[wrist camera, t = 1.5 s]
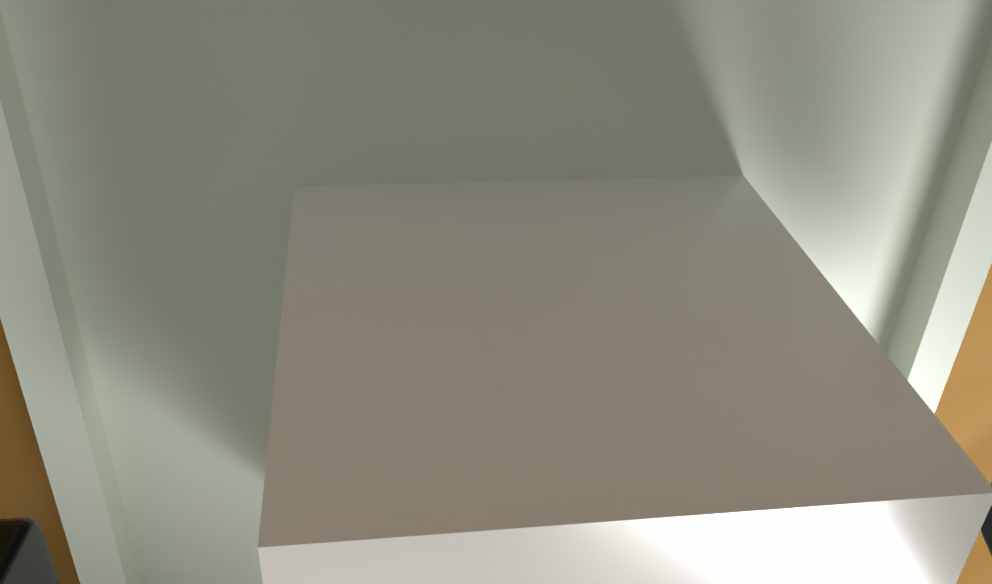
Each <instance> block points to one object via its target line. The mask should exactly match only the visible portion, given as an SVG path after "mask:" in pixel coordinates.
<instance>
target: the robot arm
mask: <svg viewBox="0 0 992 584" xmlns="http://www.w3.org/2000/svg"><path fill="white" fill-rule="evenodd" d="M991 486H992V483H991ZM981 532H982V535H983V537H984V540H985V542H986V544H987V546H988V549H989V551H990V553H991V555H992V505H991V507H990V510H989V512H988V514H987V516H986V518H985V521H984V523H983V525H982V527H981ZM0 584H59V582H58V578H57V575H56V572H55V569H54V566H53V563H52V560H51V556H50V553H49V550H48V547H47V544H46V541H45V538H44V535H43V531H42V529H41V527H40V525H39V524H38V522H37V521H36V520H34V519H32V518H14V519H0Z"/></svg>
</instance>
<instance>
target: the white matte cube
mask: <svg viewBox="0 0 992 584" xmlns="http://www.w3.org/2000/svg"><path fill="white" fill-rule="evenodd" d="M991 505H992V486H991V484H990V483H989V482H988V481H987V479H986V478H985V477H984V476H983V474H982V473H981V472H980V471H979V469H978V468H977V467H976V466H975V464H974V463H973V462H972V461H971V459H970V458H969V457H968V456H967V454H966V453H965V452H964V451H963V449H962V448H961V447H960V446H959V444H958V443H957V442H956V441H955V439H954V438H953V437H952V436H951V434H950V433H949V432H948V431H947V429H946V428H945V427H944V426H943V424H942V423H941V422H940V421H939V419H938V418H937V417H936V416H935V414H934V413H933V412H932V411H931V409H930V408H929V407H928V406H927V404H926V403H925V402H924V401H923V399H922V398H921V397H920V396H919V394H918V393H917V392H916V391H915V389H914V388H913V387H912V386H911V384H910V383H909V382H908V381H907V379H906V378H905V377H904V376H903V374H902V373H901V372H900V371H899V369H898V368H897V367H896V366H895V364H894V363H893V362H892V361H891V359H890V358H889V357H888V356H887V354H886V353H885V352H884V351H883V349H882V348H881V347H880V346H879V344H878V343H877V342H876V341H875V339H874V338H873V337H872V336H871V334H870V333H869V332H868V331H867V329H866V328H865V327H864V326H863V324H862V323H861V322H860V321H859V319H858V318H857V317H856V316H855V314H854V313H853V312H852V310H851V309H850V308H849V307H848V305H847V304H846V303H845V302H844V300H843V299H842V298H841V297H840V295H839V294H838V293H837V292H836V290H835V289H834V288H833V287H832V285H831V284H830V283H829V282H828V280H827V279H826V278H825V277H824V275H823V274H822V273H821V272H820V270H819V269H818V268H817V267H816V265H815V264H814V263H813V262H812V260H811V259H810V258H809V257H808V255H807V254H806V253H805V252H804V250H803V249H802V248H801V247H800V245H799V244H798V243H797V242H796V240H795V239H794V238H793V237H792V235H791V234H790V233H789V232H788V230H787V229H786V228H785V227H784V225H783V224H782V223H781V222H780V220H779V219H778V218H777V217H776V215H775V214H774V213H773V212H772V210H771V209H770V208H769V207H768V205H767V204H766V203H765V202H764V200H763V199H762V198H761V197H760V195H759V194H758V193H757V192H756V190H755V189H754V188H753V187H752V185H751V184H750V183H749V182H748V180H747V179H746V178H745V177H744V175H730V176H689V177H648V178H608V179H567V180H526V181H485V182H444V183H404V184H363V185H322V186H294V191H293V201H292V211H291V221H290V231H289V241H288V251H287V261H286V271H285V281H284V291H283V301H282V311H281V321H280V331H279V341H278V351H277V361H276V371H275V381H274V391H273V401H272V410H271V420H270V430H269V440H268V450H267V460H266V470H265V480H264V490H263V500H262V510H261V520H260V530H259V540H258V553H259V560H260V567H261V574H262V581H263V584H956V582H957V580H958V578H959V575H960V573H961V571H962V569H963V567H964V564H965V562H966V560H967V558H968V556H969V553H970V551H971V549H972V547H973V545H974V542H975V540H976V538H977V536H978V534H979V532H980V529H981V527H982V525H983V523H984V521H985V518H986V516H987V514H988V512H989V510H990V507H991Z"/></svg>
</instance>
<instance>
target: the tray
mask: <svg viewBox="0 0 992 584" xmlns="http://www.w3.org/2000/svg"><path fill="white" fill-rule="evenodd" d="M730 175H744V177H745V178H746V179H747V180H748V182H749V183H750V184H751V185H752V187H753V188H754V189H755V190H756V192H757V193H758V194H759V195H760V197H761V198H762V199H763V200H764V202H765V203H766V204H767V205H768V207H769V208H770V209H771V210H772V212H773V213H774V214H775V215H776V217H777V218H778V219H779V220H780V222H781V223H782V224H783V225H784V227H785V228H786V229H787V230H788V232H789V233H790V234H791V235H792V237H793V238H794V239H795V240H796V242H797V243H798V244H799V245H800V247H801V248H802V249H803V250H804V252H805V253H806V254H807V255H808V257H809V258H810V259H811V260H812V262H813V263H814V264H815V265H816V267H817V268H818V269H819V270H820V272H821V273H822V274H823V275H824V277H825V278H826V279H827V280H828V282H829V283H830V284H831V285H832V287H833V288H834V289H835V290H836V292H837V293H838V294H839V295H840V297H841V298H842V299H843V300H844V302H845V303H846V304H847V305H848V307H849V308H850V309H851V310H852V312H853V313H854V314H855V316H856V317H857V318H858V319H859V321H860V322H861V323H862V324H863V326H864V327H865V328H866V329H867V331H868V332H869V333H870V334H871V336H872V337H873V338H874V339H875V341H876V342H877V343H878V344H879V346H880V347H881V348H882V349H883V351H884V352H885V353H886V354H887V356H888V357H889V358H890V359H891V361H892V362H893V363H894V364H895V366H896V367H897V368H898V369H899V371H900V372H901V373H902V374H903V376H904V377H905V378H906V379H907V381H908V382H909V383H910V384H911V386H912V387H913V388H914V389H915V391H916V392H917V393H918V394H919V396H920V397H921V398H922V399H923V401H924V402H925V403H926V404H927V406H928V407H929V408H930V409H931V411H932V412H933V413H935V411H936V408H937V405H938V403H939V400H940V398H941V395H942V392H943V390H944V387H945V384H946V382H947V379H948V377H949V374H950V371H951V369H952V366H953V363H954V361H955V358H956V356H957V353H958V350H959V348H960V345H961V342H962V340H963V337H964V335H965V332H966V329H967V327H968V324H969V321H970V319H971V316H972V314H973V311H974V308H975V306H976V303H977V300H978V298H979V295H980V293H981V290H982V287H983V285H984V282H985V279H986V277H987V274H988V272H989V269H990V266H991V264H992V0H0V319H1V322H2V325H3V329H4V332H5V335H6V339H7V342H8V345H9V349H10V352H11V355H12V359H13V362H14V365H15V369H16V372H17V375H18V379H19V382H20V385H21V389H22V392H23V395H24V399H25V402H26V405H27V409H28V412H29V415H30V419H31V422H32V425H33V429H34V432H35V435H36V439H37V442H38V445H39V449H40V452H41V455H42V458H43V462H44V465H45V468H46V472H47V475H48V478H49V482H50V485H51V488H52V492H53V495H54V498H55V502H56V505H57V508H58V512H59V515H60V518H61V522H62V525H63V528H64V532H65V535H66V538H67V542H68V545H69V548H70V552H71V555H72V558H73V562H74V565H75V568H76V572H77V575H78V578H79V582H80V584H263V581H262V574H261V567H260V560H259V553H258V540H259V530H260V520H261V510H262V500H263V490H264V480H265V470H266V460H267V450H268V440H269V430H270V420H271V410H272V401H273V391H274V381H275V371H276V361H277V351H278V341H279V331H280V321H281V311H282V301H283V291H284V281H285V271H286V261H287V251H288V241H289V231H290V221H291V211H292V201H293V191H294V186H322V185H363V184H404V183H444V182H485V181H526V180H567V179H608V178H648V177H689V176H730Z"/></svg>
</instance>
